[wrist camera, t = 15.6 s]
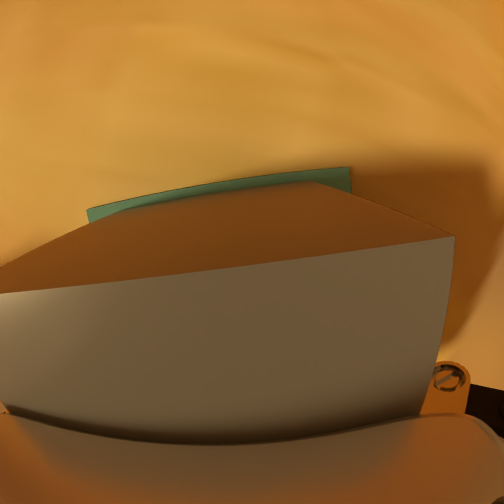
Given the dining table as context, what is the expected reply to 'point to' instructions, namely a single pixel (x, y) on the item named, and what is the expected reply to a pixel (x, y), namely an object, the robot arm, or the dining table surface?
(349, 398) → the grey rectangular box
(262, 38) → the dining table surface
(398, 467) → the robot arm
